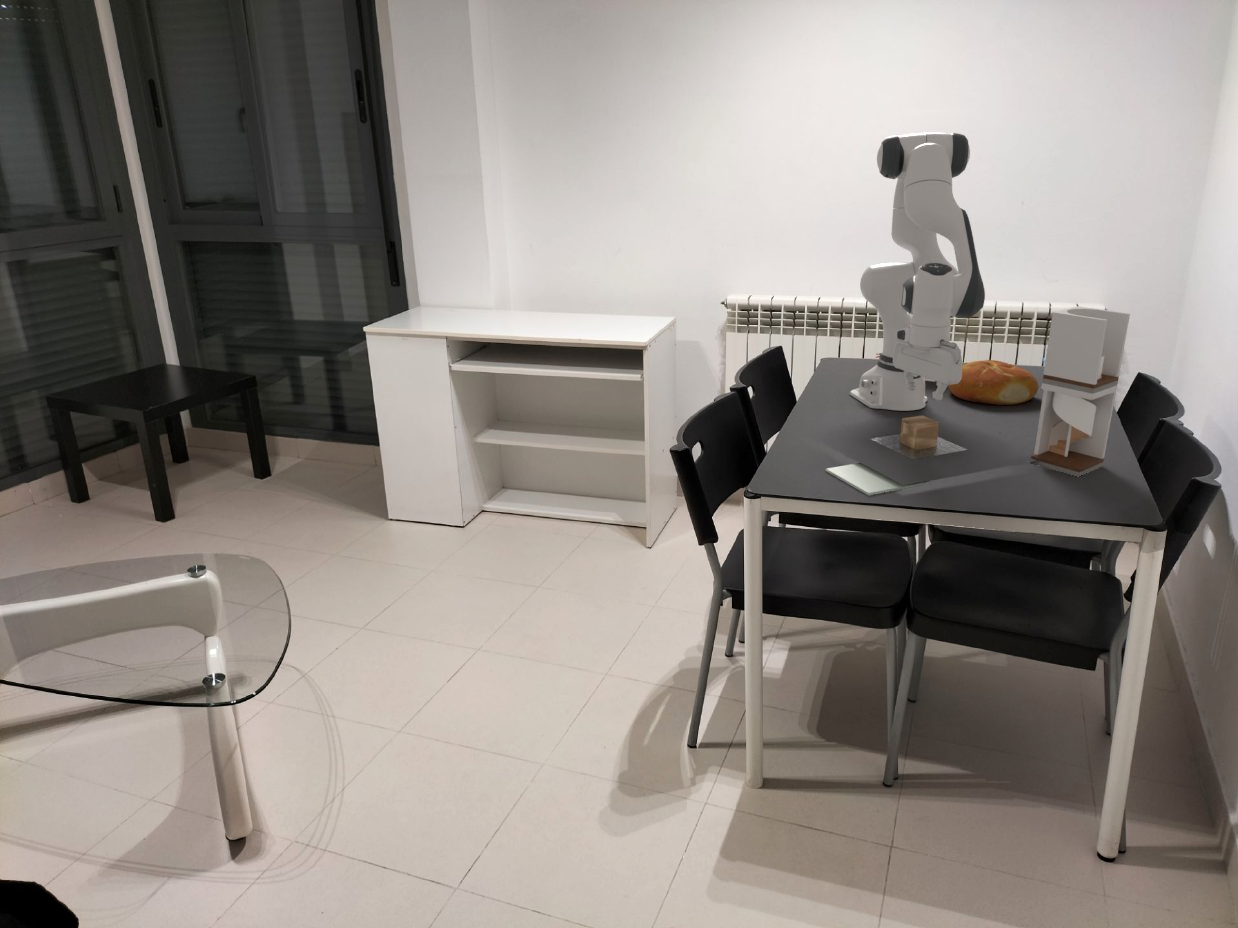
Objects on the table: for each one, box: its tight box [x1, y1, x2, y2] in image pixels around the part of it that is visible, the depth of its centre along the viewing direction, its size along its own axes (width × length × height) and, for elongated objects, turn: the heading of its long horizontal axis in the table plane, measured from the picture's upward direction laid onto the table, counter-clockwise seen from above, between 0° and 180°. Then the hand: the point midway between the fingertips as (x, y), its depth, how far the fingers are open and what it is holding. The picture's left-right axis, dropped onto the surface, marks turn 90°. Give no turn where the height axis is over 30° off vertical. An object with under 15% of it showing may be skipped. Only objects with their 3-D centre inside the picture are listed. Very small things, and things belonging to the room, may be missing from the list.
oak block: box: [900, 414, 940, 450], centre depth 220 cm, size 6×6×6 cm
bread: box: [948, 359, 1039, 406], centre depth 260 cm, size 23×23×10 cm
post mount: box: [870, 433, 968, 460], centre depth 220 cm, size 16×16×6 cm
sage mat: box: [825, 462, 931, 497], centre depth 205 cm, size 16×16×1 cm
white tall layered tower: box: [1029, 305, 1131, 477], centre depth 204 cm, size 11×11×35 cm
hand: (923, 394), depth 216 cm, fingers open, 8 cm apart
